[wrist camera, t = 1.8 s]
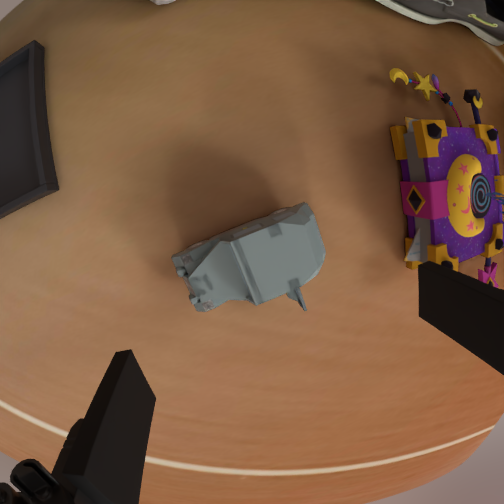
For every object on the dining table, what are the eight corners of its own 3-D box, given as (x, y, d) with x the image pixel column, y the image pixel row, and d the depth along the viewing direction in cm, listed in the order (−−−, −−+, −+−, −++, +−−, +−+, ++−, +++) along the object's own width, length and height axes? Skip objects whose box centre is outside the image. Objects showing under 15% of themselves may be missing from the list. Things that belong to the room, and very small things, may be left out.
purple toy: (464, 84, 21) (545, 65, 10) (481, 292, 27) (552, 328, 16) (362, 71, 20) (458, 16, 8) (395, 334, 26) (472, 402, 14)
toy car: (174, 251, 21) (165, 269, 17) (298, 201, 22) (321, 205, 17) (208, 323, 23) (209, 355, 18) (322, 275, 23) (348, 296, 19)
